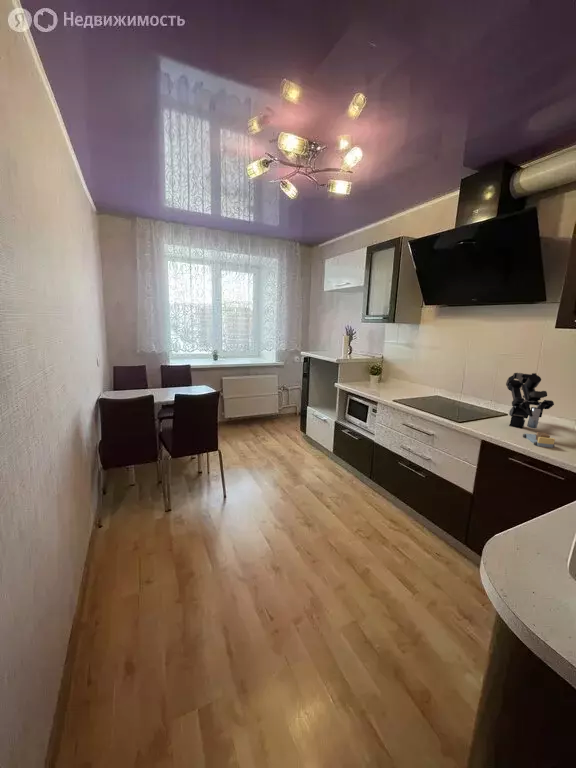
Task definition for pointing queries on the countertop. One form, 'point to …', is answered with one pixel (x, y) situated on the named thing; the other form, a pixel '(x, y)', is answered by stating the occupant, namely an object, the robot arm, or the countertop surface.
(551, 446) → the cart
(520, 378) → the robot arm
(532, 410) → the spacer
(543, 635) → the countertop surface
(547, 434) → the collected block
